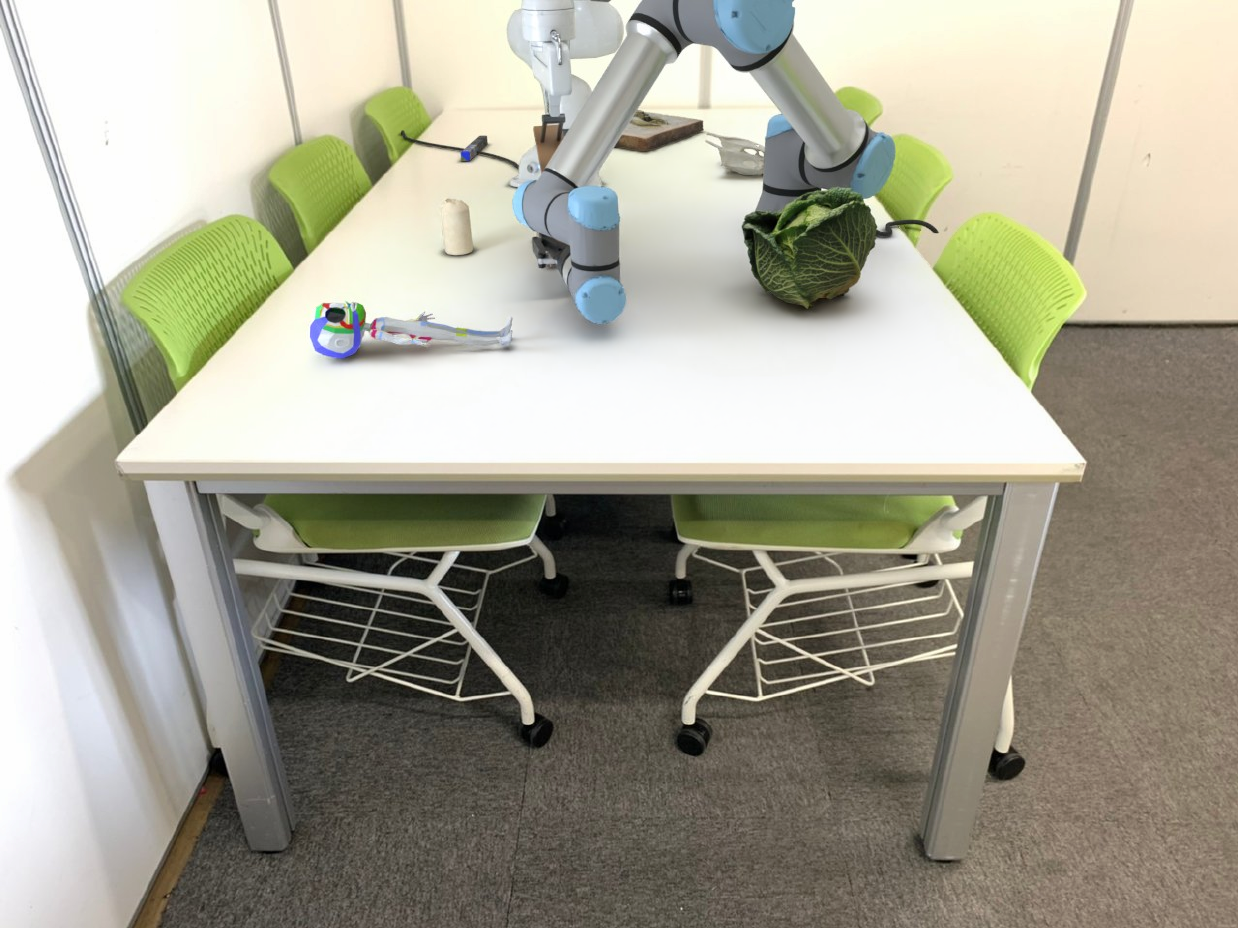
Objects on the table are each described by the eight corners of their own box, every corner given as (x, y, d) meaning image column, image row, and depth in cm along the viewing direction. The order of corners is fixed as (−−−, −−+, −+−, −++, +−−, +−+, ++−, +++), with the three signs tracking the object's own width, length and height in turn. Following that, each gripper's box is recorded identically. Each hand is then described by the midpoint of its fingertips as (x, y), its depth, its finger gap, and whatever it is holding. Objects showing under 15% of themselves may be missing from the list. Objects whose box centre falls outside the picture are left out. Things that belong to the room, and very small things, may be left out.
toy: (513, 328, 132) (301, 311, 127) (509, 379, 136) (304, 364, 132) (513, 302, 141) (314, 285, 136) (509, 351, 145) (317, 336, 140)
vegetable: (769, 324, 161) (717, 226, 153) (855, 264, 162) (809, 164, 154) (822, 342, 142) (766, 232, 135) (919, 274, 144) (869, 162, 136)
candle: (478, 247, 177) (472, 197, 172) (465, 256, 173) (459, 205, 168) (453, 245, 179) (447, 194, 174) (439, 254, 174) (433, 202, 169)
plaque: (647, 125, 237) (559, 112, 252) (647, 153, 241) (560, 139, 256) (706, 107, 258) (622, 97, 273) (705, 133, 262) (622, 121, 277)
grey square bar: (487, 135, 252) (468, 152, 235) (487, 143, 253) (469, 161, 236) (479, 135, 252) (460, 152, 235) (480, 143, 253) (461, 161, 236)
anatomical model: (707, 129, 226) (808, 127, 222) (707, 166, 231) (805, 165, 227) (703, 143, 213) (809, 141, 210) (703, 182, 218) (807, 181, 215)
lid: (533, 129, 165) (536, 101, 157) (561, 127, 166) (565, 99, 158) (547, 211, 162) (551, 187, 154) (576, 209, 163) (581, 185, 155)
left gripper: (579, 34, 142) (582, 125, 149) (557, 20, 159) (561, 103, 166) (539, 35, 140) (545, 128, 148) (521, 22, 157) (527, 105, 165)
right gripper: (530, 297, 149) (512, 252, 168) (637, 286, 153) (607, 243, 172) (527, 253, 145) (509, 212, 164) (637, 243, 149) (606, 204, 168)
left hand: (553, 114), depth 157 cm, fingers closed
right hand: (559, 228), depth 168 cm, fingers closed on chest, 5 cm apart
